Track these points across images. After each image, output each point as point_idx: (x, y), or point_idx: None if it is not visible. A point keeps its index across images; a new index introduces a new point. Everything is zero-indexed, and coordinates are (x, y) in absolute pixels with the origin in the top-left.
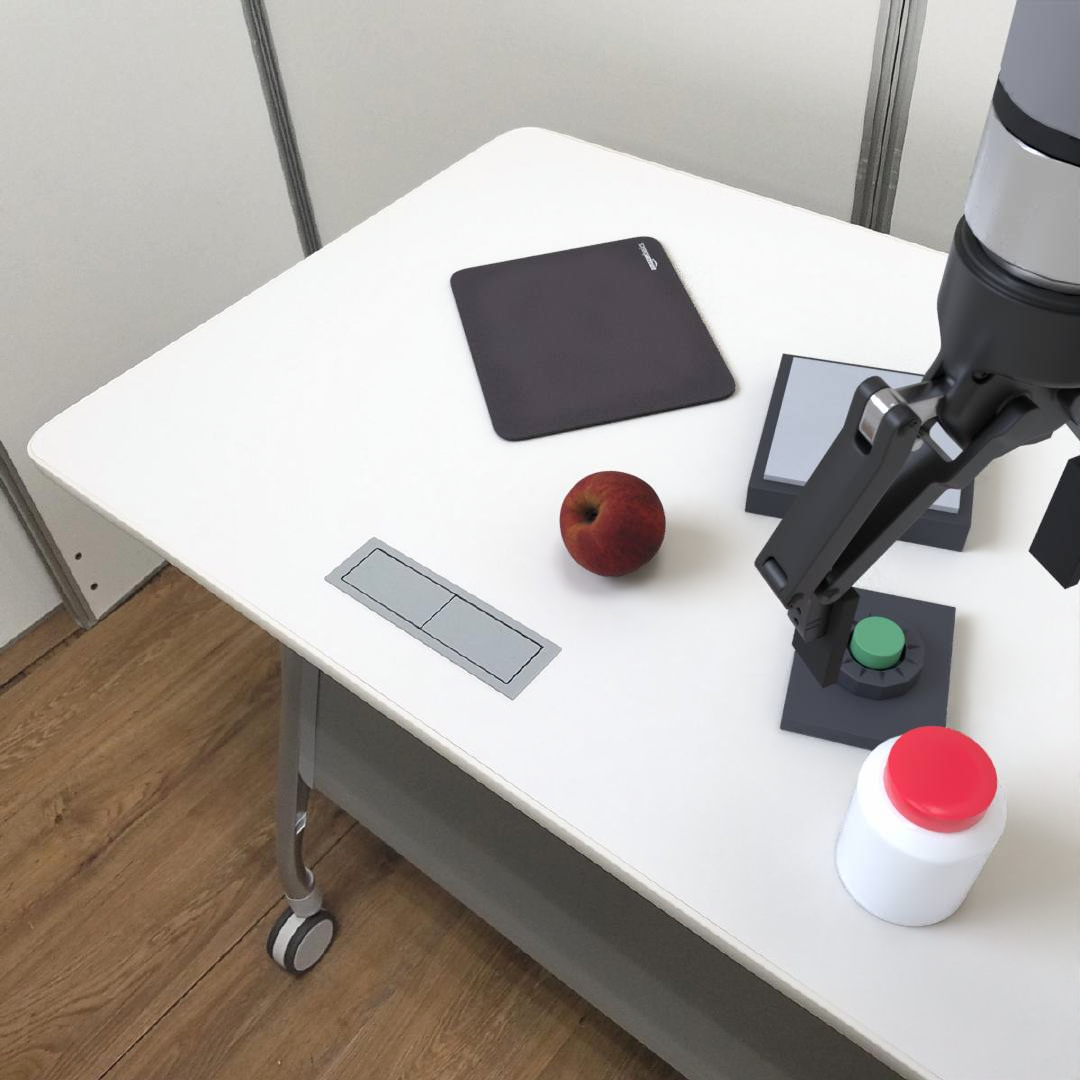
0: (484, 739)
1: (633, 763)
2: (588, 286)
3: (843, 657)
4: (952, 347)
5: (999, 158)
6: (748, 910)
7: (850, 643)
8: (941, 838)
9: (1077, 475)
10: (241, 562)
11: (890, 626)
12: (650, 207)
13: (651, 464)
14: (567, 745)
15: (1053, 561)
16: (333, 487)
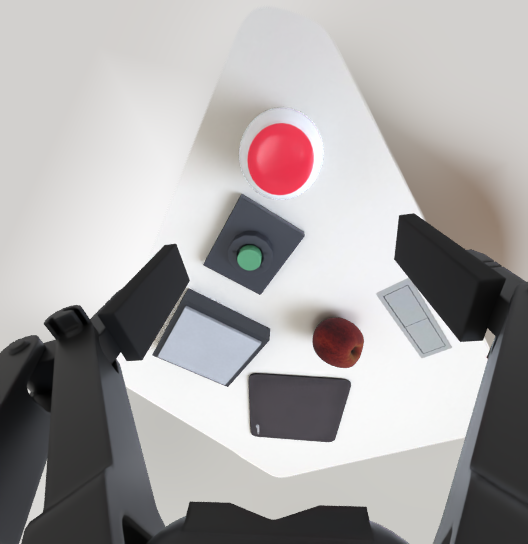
0: None
1: (376, 234)
2: (285, 425)
3: (416, 229)
4: None
5: None
6: (365, 145)
7: None
8: (294, 122)
9: (138, 341)
10: (479, 362)
11: (241, 263)
12: (247, 444)
13: (297, 356)
14: None
15: (177, 267)
16: (424, 380)
